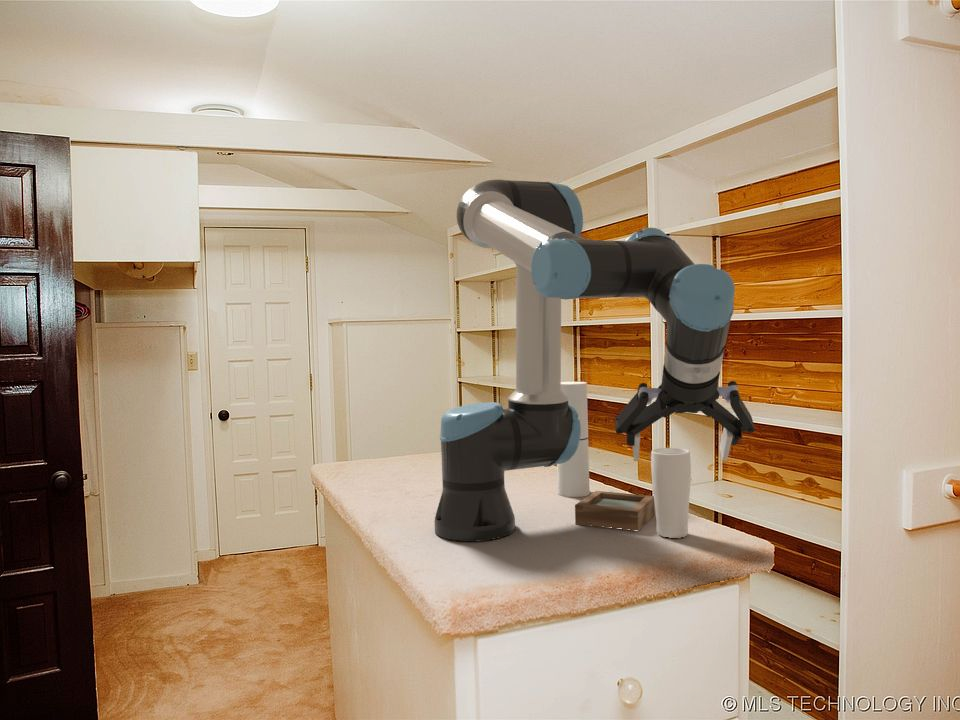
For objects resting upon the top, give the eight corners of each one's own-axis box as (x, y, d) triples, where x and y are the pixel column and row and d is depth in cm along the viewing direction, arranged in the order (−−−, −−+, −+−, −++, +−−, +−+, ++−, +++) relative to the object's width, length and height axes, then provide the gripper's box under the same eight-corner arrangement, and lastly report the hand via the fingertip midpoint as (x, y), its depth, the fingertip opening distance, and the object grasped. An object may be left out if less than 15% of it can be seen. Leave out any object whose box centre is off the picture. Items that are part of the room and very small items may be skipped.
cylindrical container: (586, 497, 145) (583, 384, 144) (554, 496, 147) (551, 384, 146) (591, 490, 152) (589, 381, 151) (561, 488, 154) (558, 381, 153)
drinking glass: (665, 542, 113) (664, 455, 113) (645, 531, 120) (643, 449, 119) (700, 538, 115) (698, 452, 114) (678, 527, 122) (676, 446, 121)
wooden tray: (637, 531, 120) (637, 511, 120) (575, 524, 126) (574, 504, 125) (654, 514, 130) (654, 496, 130) (596, 508, 136) (595, 490, 136)
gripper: (600, 388, 90) (600, 473, 106) (794, 384, 86) (765, 474, 102) (598, 348, 95) (599, 435, 111) (782, 343, 91) (756, 434, 107)
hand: (678, 454), depth 106 cm, fingers open, 13 cm apart
